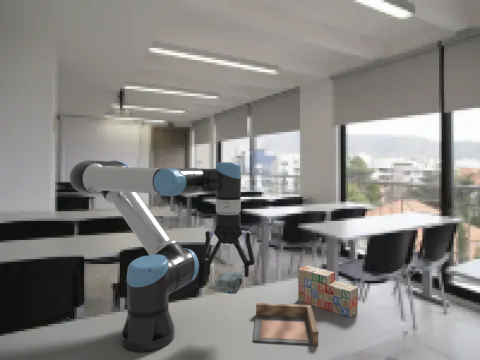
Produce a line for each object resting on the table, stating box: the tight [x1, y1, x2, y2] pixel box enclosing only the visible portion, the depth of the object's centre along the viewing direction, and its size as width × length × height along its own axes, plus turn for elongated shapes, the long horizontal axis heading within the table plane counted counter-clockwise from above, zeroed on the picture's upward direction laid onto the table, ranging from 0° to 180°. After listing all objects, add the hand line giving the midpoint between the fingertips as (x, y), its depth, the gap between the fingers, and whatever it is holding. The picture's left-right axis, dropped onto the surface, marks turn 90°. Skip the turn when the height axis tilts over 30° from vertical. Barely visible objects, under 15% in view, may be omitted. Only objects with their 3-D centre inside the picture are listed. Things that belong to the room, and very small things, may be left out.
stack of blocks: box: [297, 265, 359, 319], centre depth 119 cm, size 21×6×12 cm, turn 43°
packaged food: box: [207, 271, 242, 295], centre depth 99 cm, size 9×12×5 cm
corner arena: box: [252, 302, 319, 347], centre depth 102 cm, size 18×18×4 cm
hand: (227, 286), depth 99 cm, fingers closed on packaged food, 9 cm apart
